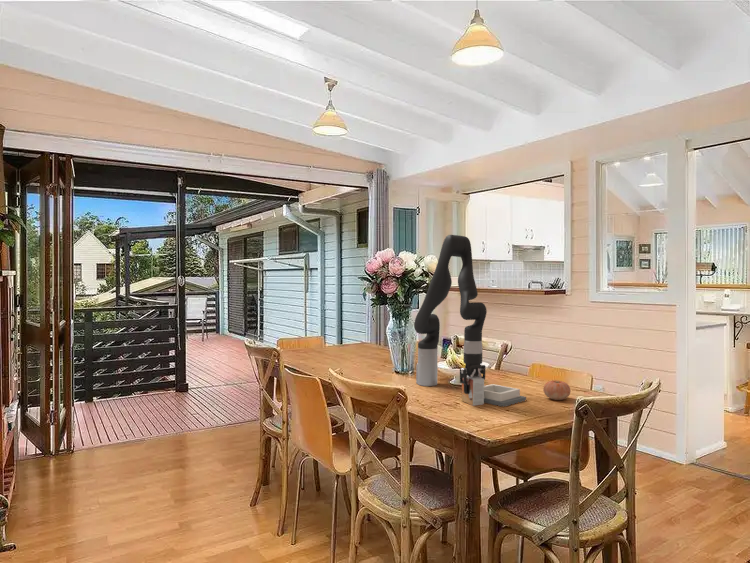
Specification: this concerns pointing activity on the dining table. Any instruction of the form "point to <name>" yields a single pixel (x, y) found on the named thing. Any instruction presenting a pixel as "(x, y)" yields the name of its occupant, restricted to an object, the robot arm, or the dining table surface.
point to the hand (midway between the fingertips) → (472, 392)
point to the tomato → (556, 390)
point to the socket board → (502, 395)
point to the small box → (474, 392)
